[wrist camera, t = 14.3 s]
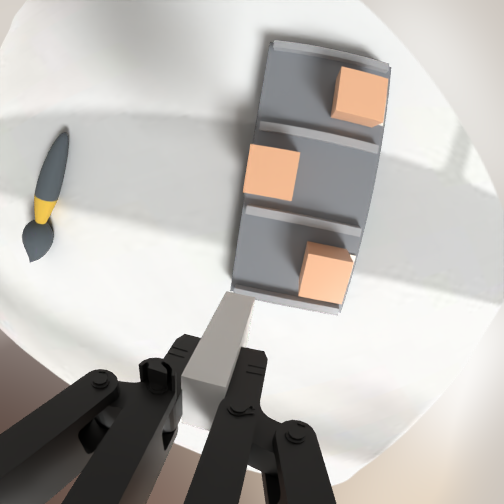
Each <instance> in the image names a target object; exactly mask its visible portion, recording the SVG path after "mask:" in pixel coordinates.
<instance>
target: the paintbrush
mask: <svg viewBox="0 0 504 504" xmlns="http://www.w3.org/2000/svg"><path fill="white" fill-rule="evenodd" d="M67 153H68V135H67V133H65V132H64V133H62V134H61V135H60V136H59V137H58V138H57V139H56V141H55V142H54V144H53V145H52V147H51V149H50V151H49V153H48V155H47V157H46V159H45V161H44V164H43V166H42V169H41V171H40V175H39V178H38V181H37V185H36V189H35V196H34V211H35V220H33V221H31V222H29V223H28V224H27V225H26V226H25V228H24V230H23V234H22V240H23V244H24V247H25V249H26V252H27V254H28V256H29V260H30V262H33V261H36V260H38V259H40V258H41V257H43V256H44V255H45V254H46V253H47V251H48V250H49V249H50V247H51V245H52V243H53V231H52V229H51V227H50V225H49V224H48V223H47V220H48V218H49V216H50V215H51V212H52V210H53V208H54V206H55V204H56V202H57V200H58V197H59V193H60V189H61V186H62V181H63V177H64V172H65V166H66V160H67Z"/></svg>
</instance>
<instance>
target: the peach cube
mask: <svg viewBox="0 0 504 504" xmlns="http://www.w3.org/2000/svg"><path fill="white" fill-rule="evenodd" d="M299 158H300V152H296V151H290V150H285V149H279V148H273V147H267V146H260V145H254V144H250V150H249V156H248V163H247V169H246V175H245V182H244V188H243V192H244V193H249V194H255V195H261V196H266V197H272V198H277V199H282V200H288V201H292V197H293V191H294V186H295V180H296V175H297V169H298V163H299Z"/></svg>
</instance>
